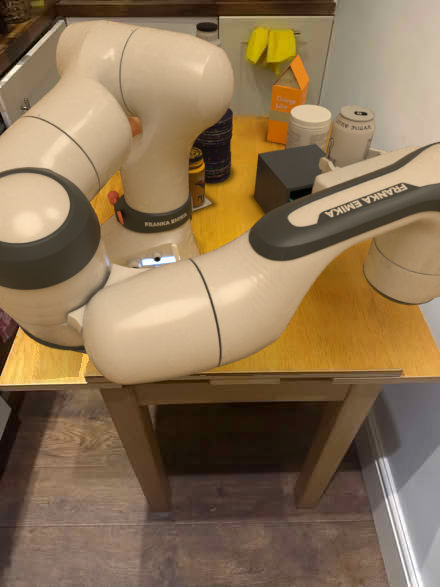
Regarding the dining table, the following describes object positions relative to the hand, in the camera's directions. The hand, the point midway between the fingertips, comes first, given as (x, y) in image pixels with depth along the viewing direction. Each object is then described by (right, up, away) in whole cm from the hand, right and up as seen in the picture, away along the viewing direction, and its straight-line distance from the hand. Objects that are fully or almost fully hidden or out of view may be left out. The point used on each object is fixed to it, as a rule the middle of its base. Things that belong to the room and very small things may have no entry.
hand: (341, 155), depth 63 cm
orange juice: (-1, +23, +52) cm, 57 cm away
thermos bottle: (-22, +20, +49) cm, 57 cm away
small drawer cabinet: (-2, -2, +29) cm, 29 cm away
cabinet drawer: (-1, -3, +27) cm, 27 cm away
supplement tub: (+2, +10, +40) cm, 41 cm away
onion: (-42, +16, +45) cm, 63 cm away
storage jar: (-21, +9, +38) cm, 45 cm away
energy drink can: (0, -6, +5) cm, 8 cm away
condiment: (-26, -1, +30) cm, 40 cm away
